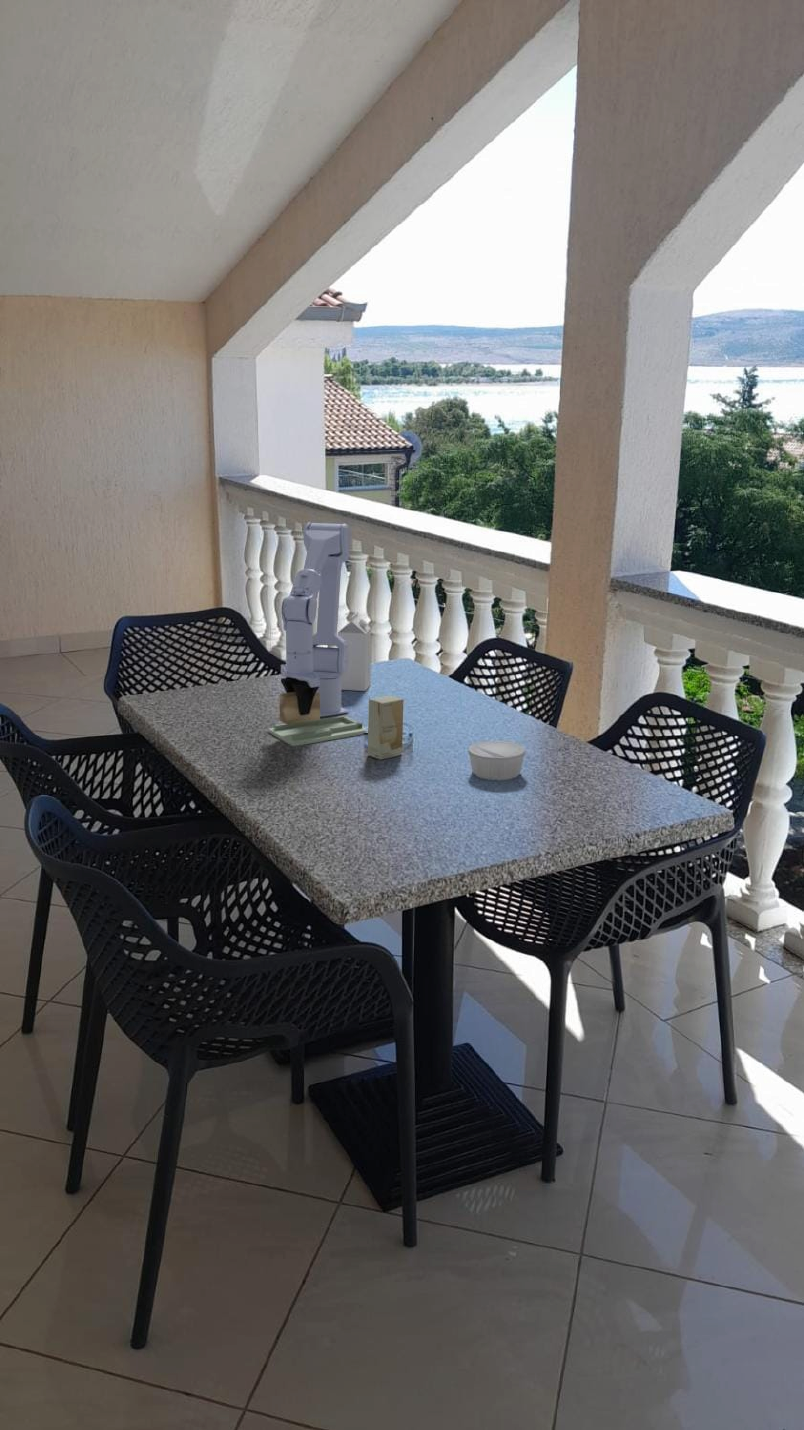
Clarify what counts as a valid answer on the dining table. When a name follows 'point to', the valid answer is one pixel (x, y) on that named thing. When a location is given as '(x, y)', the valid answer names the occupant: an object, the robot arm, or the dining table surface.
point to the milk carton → (357, 654)
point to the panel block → (291, 711)
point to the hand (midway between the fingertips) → (300, 712)
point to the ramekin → (496, 760)
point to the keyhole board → (317, 730)
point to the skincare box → (385, 727)
